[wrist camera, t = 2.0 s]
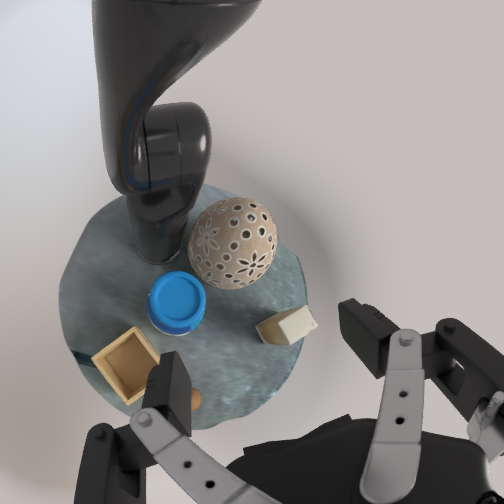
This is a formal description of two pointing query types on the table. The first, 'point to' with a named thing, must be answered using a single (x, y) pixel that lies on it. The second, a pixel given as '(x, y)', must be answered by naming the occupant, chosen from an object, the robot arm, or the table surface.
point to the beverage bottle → (176, 303)
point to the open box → (127, 364)
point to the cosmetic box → (287, 326)
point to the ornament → (232, 243)
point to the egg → (195, 399)
